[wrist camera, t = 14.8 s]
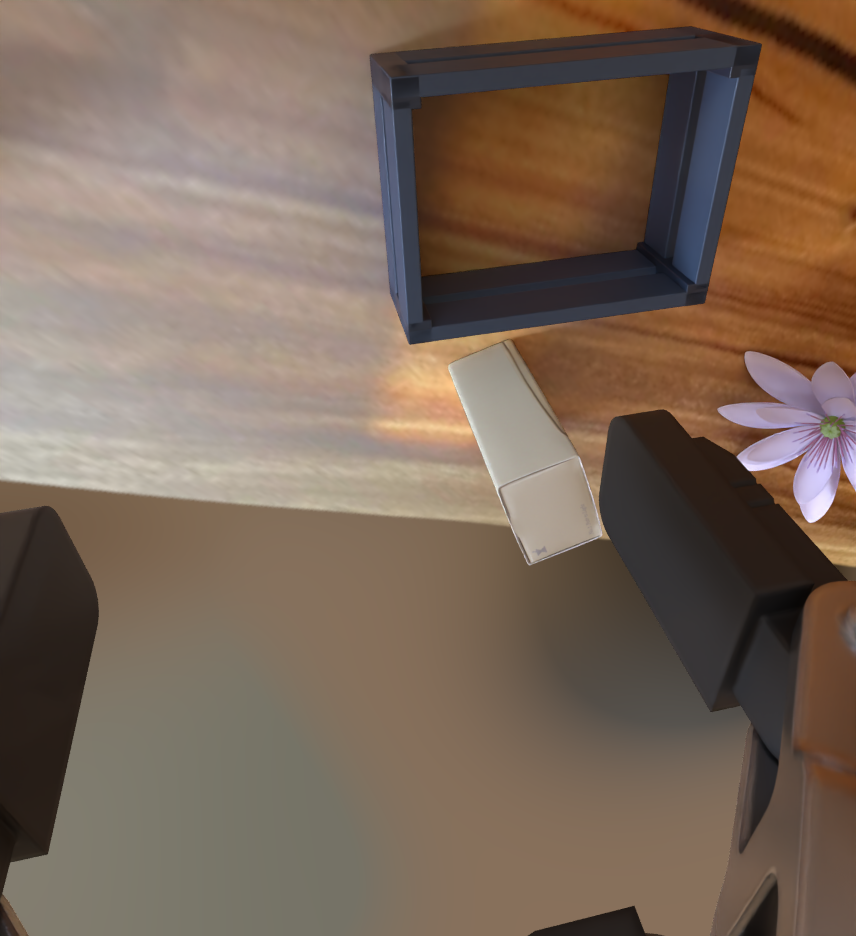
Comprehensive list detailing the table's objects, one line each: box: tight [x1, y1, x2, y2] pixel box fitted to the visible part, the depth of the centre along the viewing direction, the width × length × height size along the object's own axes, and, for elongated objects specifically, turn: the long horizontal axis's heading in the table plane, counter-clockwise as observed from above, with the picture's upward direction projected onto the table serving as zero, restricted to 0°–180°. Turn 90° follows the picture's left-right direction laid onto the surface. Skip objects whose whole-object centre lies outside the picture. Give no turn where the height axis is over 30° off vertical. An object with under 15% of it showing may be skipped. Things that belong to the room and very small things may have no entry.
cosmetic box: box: [448, 339, 602, 565], centre depth 39 cm, size 6×4×12 cm
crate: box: [370, 26, 762, 345], centre depth 34 cm, size 16×12×6 cm
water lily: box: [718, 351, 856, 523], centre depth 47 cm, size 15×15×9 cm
